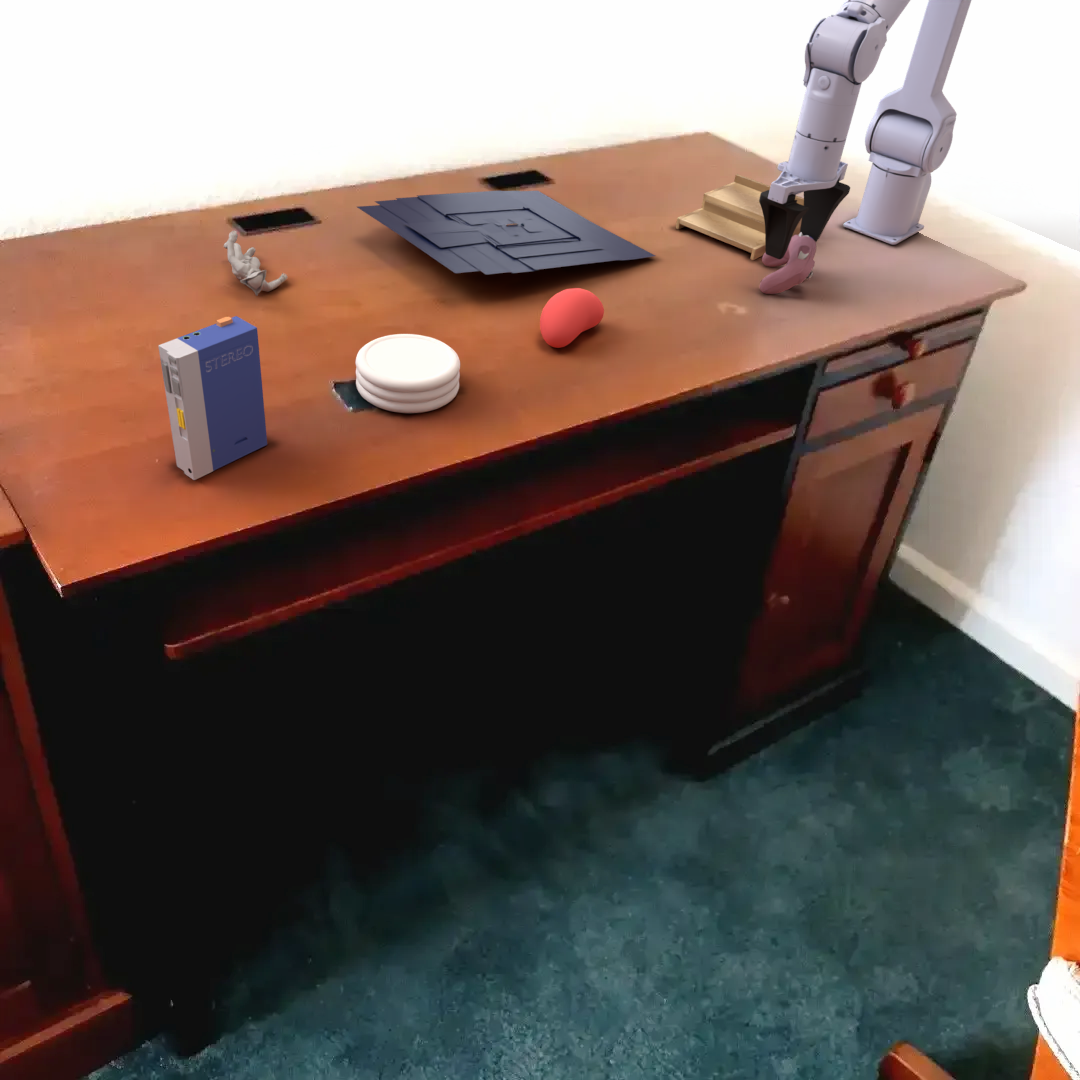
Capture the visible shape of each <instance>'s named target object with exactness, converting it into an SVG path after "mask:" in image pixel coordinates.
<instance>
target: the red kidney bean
mask: <svg viewBox="0 0 1080 1080" xmlns="http://www.w3.org/2000/svg"><path fill="white" fill-rule="evenodd" d="M604 314H605V308H604V305H603V303H602V301H601V300H600V298H599V297H598V296H597V295H596V294H594V293H593V292H591V291H590V290H587V289H584V288H580V287H573V288H566V289H563V290H560V291H558V292H557V293H555V294H554V295H553V296H552V297H551V298H549V299H548V301H547V302H546V304H545V305H544V307H542V310H541V313H540V318H539V329H540V333H541V336H542V339H543V340H544V342H545V343H546V344H547V345H548V346H550V347H552V348H555V349H556V348H557V349H559V348H565V347H566V346H568V345H570V344H571V343H572V342H573V341H574V340H575V339H576V338H577V337H579V335H580V334H581V333H583V332H585V331H588V330H589V329H591V328H594V327H596V326H597V325H598V324H600V323H601V321H602V320H603V318H604V316H605V315H604Z"/></svg>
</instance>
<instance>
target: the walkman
mask: <svg viewBox="0 0 1080 1080" xmlns="http://www.w3.org/2000/svg"><path fill="white" fill-rule="evenodd" d="M157 347H158V351H159V352H158V354H159V359H160V365H161V372H162V379H163V385H164V391H165V392H164V393H165V398H166V405H167V411H168V417H169V424H170V431H171V438H172V444H173V449H174V457H175V463H176V467H177V468H178V469H180V470H181V471H183V474H184V475H186V476H187V477H189V479H192V480H193V481H196V480H198V479H200V478H202V477H205V476H206V475H208V474H210V473H212V472H214V471H216V470H219V469H220V468H223V467H224V466H227V465H229V464H231V463H233V462H235V461H237V460H239V459H241V458H243V457H245V456H248V455H249V454H251V453H253V452H255V451H257V450H259V449H261V448H264V447H266V446H268V436H267V426H266V425H267V423H266V415H265V414H266V412H265V401H264V391H263V389H264V388H263V380H262V379H263V378H262V368H261V355H260V344H259V334H258V327H257V326H255V325H253V324H252V323H249V322H248V321H246V320H244V319H243V318H241V317H239V316H237V315H235V316H232V317H230V316H228V315H227V316H224V317H221V318H219V319H217V320H215V323H214V324H211V325H208V326H206V327H202V328H200V329H197V330H195V331H192V332H190V333H187V334H184V335H182V336H178V337H177V338H174V339H171V340H169V341H166V342H163V343H161V344H158V345H157Z"/></svg>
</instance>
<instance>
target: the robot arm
mask: <svg viewBox="0 0 1080 1080" xmlns="http://www.w3.org/2000/svg"><path fill="white" fill-rule="evenodd" d="M910 2H911V0H845V1H844V2H843V4H841V6H840V8H839V9H838V11H836V13H835V14H831V15H829V16H827V17H824V18H821V19H820V20H819V21H818V22H817V23H816V24H815V26H814V28H813V29H812V31H811V33H810V36H809V38H808V41H807V43H806V44H805V50H804V64H805V69H804V75H803V79H802V81H803V86H804V87H805V92H804V96H803V100H802V104H801V108H800V111H799V115H798V116H799V117H798V121H797V125H796V128H795V133H794V137H793V141H792V145H791V149H790V153H789V157H788V161H782V162H779V163H778V165H777V170H778V171H779V172H781V173H780V174H779V176H778V177H777V178H776V179H775V180H773V181H772V182H771V183H770V186H771V187H770V190H767V191H764V192H762V193H761V194H760V199H759V202H760V205H761V208H762V211H763V216H764V221H765V251H766V254H767V255H769V256H772V257H774V258H777V259H782V258H783V257H784V255H785V253H786V251H787V249H788V246H789V243H790V241H791V238H792V235H793V233H794V231H795V229H796V227H797V225H798V223H799V221H800V220H801V218H802V221H801V227H800V232H802V234H803V235H808V236H809V237H812V238H813V240H814V241H815V242H816V243H817V242H818V241H819V239H820V237H821V236H822V234H823V232H824V230H825V228H826V226H827V225H828V222H829V220H830V219H831V217H832V215H833V214H834V213H835V211H836V209H837V208H838V206H839V205H840V204H841V203H842V202H843V200H844V199H845V198H846V197H847V196H848V195H849V194H850V191H851V186H850V185H848V184H846V183H844V182H840V181H843V180H844V179H845V176H846V173H847V168H848V165H849V164H848V163H847V162H844V161H841V160H842V156H843V152H844V149H845V144H846V142H847V138H848V135H849V131H850V128H851V123H852V120H853V117H854V112H855V109H856V105H857V102H858V98H859V94H860V91H861V88H862V85H863V82H865V81H866V80H867V79H868V78H869V77H870V76H871V74H873V72H874V70H875V68H876V67H877V64H878V61H879V59H880V56H881V53H882V52H883V49H884V48H885V46H886V43H887V42H888V41H887V40H888V39H887V36H888V35H887V34H888V32H889V31H890V30H891V28H893V26H894V24H895V23H896V21H897V20H898V18H899V17H900V16H901V14H902V13H903V11H904V10H905V9H906V7H907V6H908V4H909V3H910ZM971 3H972V0H928V1H927V5H926V8H925V12H924V15H923V18H922V21H921V24H920V28H919V31H918V34H917V38H916V41H915V44H914V47H913V51H912V54H911V58H910V60H909V63H908V64H909V65H908V68H907V70H906V73H905V77H904V81H903V85H902V86H901V87H899V88H897V89H894V90H892V91H890V92H888V93H886V94H885V95H884V96H882V97H881V99H880V100H879V102H878V104H877V108H876V110H875V112H874V115H873V116H872V118H871V120H870V122H869V124H868V126H867V129H866V133H865V137H864V146H865V150H866V153H868V154H869V157H868V161H869V162H871V163H872V164H871V166H870V170H869V174H868V177H867V180H866V184H865V187H864V191H863V195H862V198H861V201H860V204H859V209H858V211H857V215H856V216H855V217H853V218H851V219H848V220H847V221H845V222H843V225H842V226H843V228H846V229H849V230H851V231H855V232H857V233H860V234H863V235H865V236H867V237H871V238H874V239H876V240H879V241H882V242H884V243H887V244H889V245H891V246H892V245H894V246H895V245H898V244H899V243H901V242H903V241H905V240H906V239H908V238H909V237H912V236H913V235H915V234H918V233H919V232H921V231H922V230H924V229H925V225H924V224H922V223H920V220H921V216H922V215H923V214H922V213H923V210H924V208H925V204H926V201H927V198H928V195H929V193H930V188H931V186H932V174H931V173H933V172H935V171H936V170H937V169H938V168H940V167H941V165H942V164H943V162H944V161H945V160H946V158H947V156H948V154H949V152H950V150H951V149H950V148H951V146H952V142H953V136H954V134H953V133H954V127H955V124H956V120H957V115H958V113H957V112H956V110H955V108H954V107H953V106H952V104H951V103H950V101H949V100H948V99H947V97H946V95H945V94H944V92H943V89H944V86H945V83H946V80H947V78H948V74H949V71H950V67H951V64H952V61H953V58H954V56H955V52H956V50H957V46H958V43H959V40H960V37H961V34H962V31H963V27H964V24H965V21H966V19H967V15H968V12H969V9H970V6H971ZM801 193H803V198H804V206H803V205H800V204H798V203H797V200H795V197H796V196H798V195H799V194H801Z"/></svg>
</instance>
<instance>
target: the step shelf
mask: <svg viewBox="0 0 1080 1080" xmlns="http://www.w3.org/2000/svg"><path fill="white" fill-rule="evenodd" d="M770 187H771V185H769V184H766V183H763V182H760V181H758V180H755V179H753V178H751V177H747V176H744V175H741V174H739V173H735V175H734V180H733V181H732V182H729V183H728V184H724V185H722V186H719V187H717V188H714V189H712V190H709V191H707V192H704V193H703V196H702V202H701V207H700V208H698V209H695V210H693V211H690V212H688V213H685V214H683V215H681V216H678V217H676V223H675V229H676V230H680V229H682V228H685V227H686V228H688V229H692V230H694V231H697V232H698V233H701V234H704V235H706V236H709V237H711V238H714V239H716V240H719V241H720V242H724V243H726V244H728V245H731V246H734V247H736V248H738V249H740V250H743V251H744V252H745V251H746V252H748V253H750V260H751V261H755V260H757V259H759V258H762V257H763V255H764V253H765V252H766V251H765V221H764V216H763V211H762V208H761V205H760V202H759V199H760V194H761V193H762V192H764V191H767V190H770ZM795 200H797V203H798V204H800V205H803V206H804V197H801V196H799V195H796V197H795ZM801 221H802V218H801V220H800V221H799V223H798V225H797V227H796V229H795V231H794V233H793V235H792V237H793V236H794V235H799V234H800V227H801Z"/></svg>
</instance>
